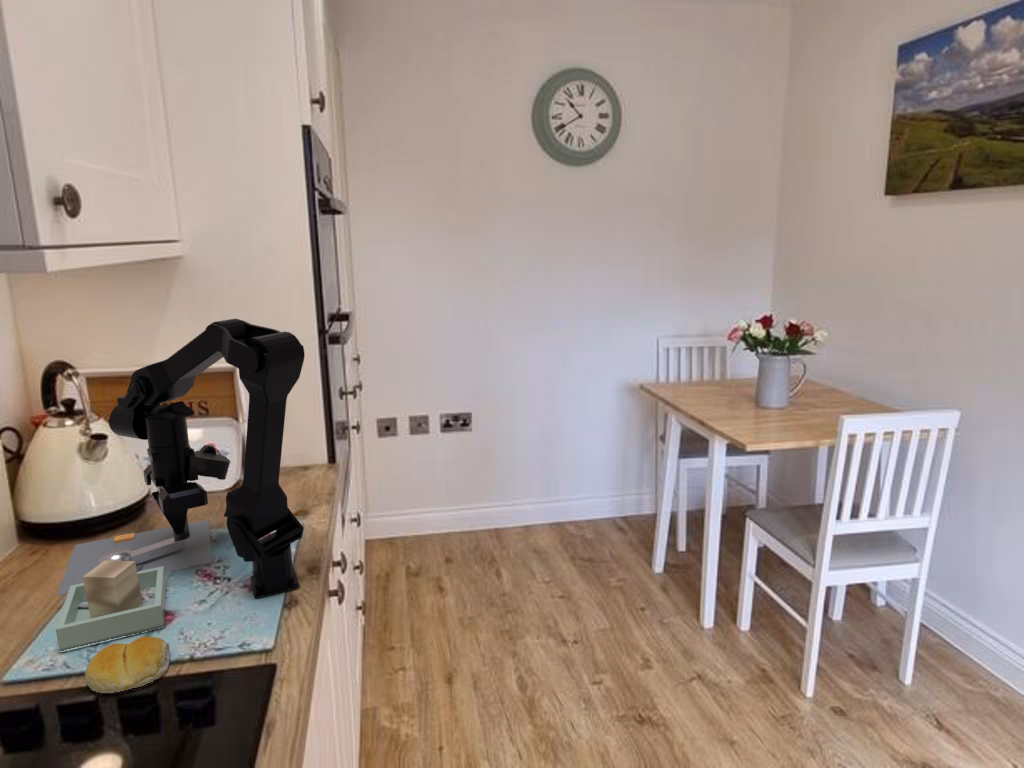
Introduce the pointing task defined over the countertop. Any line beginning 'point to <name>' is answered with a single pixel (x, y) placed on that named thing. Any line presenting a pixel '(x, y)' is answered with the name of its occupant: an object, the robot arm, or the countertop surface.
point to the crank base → (183, 558)
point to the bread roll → (128, 665)
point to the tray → (110, 615)
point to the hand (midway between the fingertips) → (180, 534)
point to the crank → (146, 549)
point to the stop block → (112, 588)
